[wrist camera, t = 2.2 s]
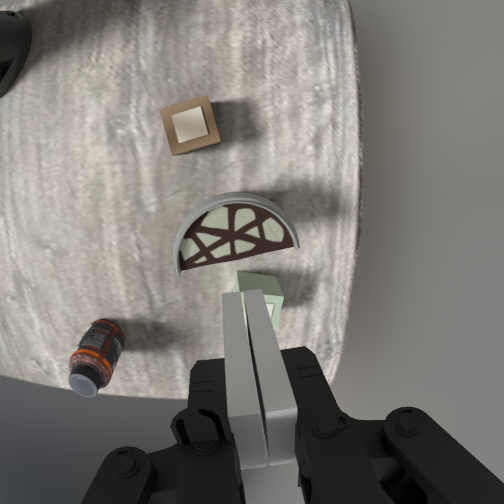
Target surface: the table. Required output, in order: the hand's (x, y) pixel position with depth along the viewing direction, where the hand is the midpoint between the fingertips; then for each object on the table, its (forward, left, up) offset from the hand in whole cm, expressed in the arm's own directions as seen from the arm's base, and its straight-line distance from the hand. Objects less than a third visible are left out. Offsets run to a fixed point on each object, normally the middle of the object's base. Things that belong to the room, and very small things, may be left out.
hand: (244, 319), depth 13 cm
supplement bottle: (+16, -20, -25) cm, 36 cm away
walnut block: (-10, -3, -25) cm, 27 cm away
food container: (0, 0, -25) cm, 25 cm away
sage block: (+11, +2, -25) cm, 27 cm away
